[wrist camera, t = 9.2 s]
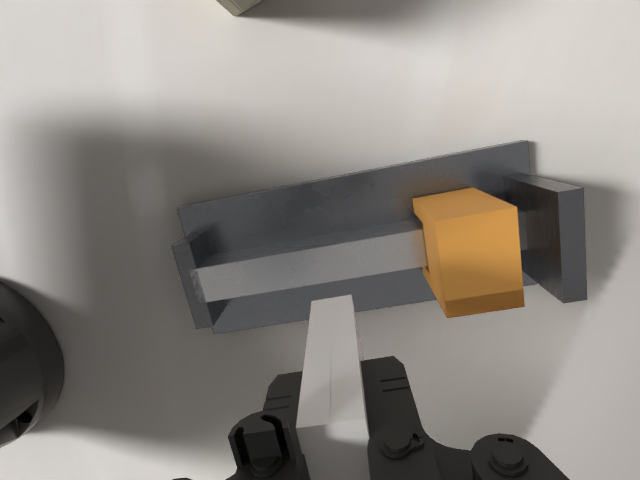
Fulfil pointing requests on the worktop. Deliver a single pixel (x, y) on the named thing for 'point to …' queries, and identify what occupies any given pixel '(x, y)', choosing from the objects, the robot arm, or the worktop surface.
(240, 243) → the rail
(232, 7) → the skincare box
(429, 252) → the orange slider block
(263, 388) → the worktop surface
